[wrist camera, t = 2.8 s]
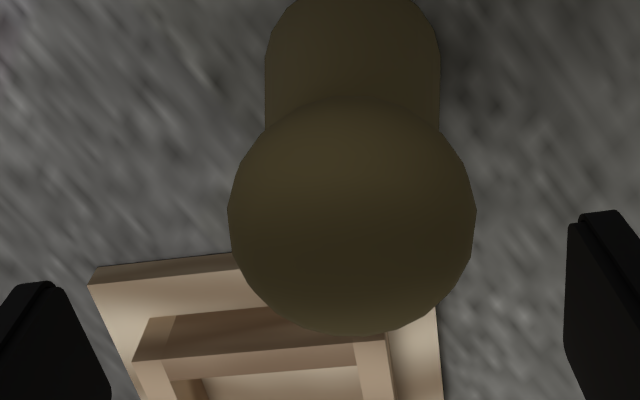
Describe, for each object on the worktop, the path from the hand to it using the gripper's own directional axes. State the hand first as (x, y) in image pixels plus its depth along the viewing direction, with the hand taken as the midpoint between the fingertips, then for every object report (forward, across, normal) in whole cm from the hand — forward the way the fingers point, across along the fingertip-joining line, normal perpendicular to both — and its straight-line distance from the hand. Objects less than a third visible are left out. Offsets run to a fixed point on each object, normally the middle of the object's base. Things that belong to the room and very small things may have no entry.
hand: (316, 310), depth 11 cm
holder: (+12, +4, +13) cm, 18 cm away
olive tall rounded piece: (+12, -1, -1) cm, 12 cm away
